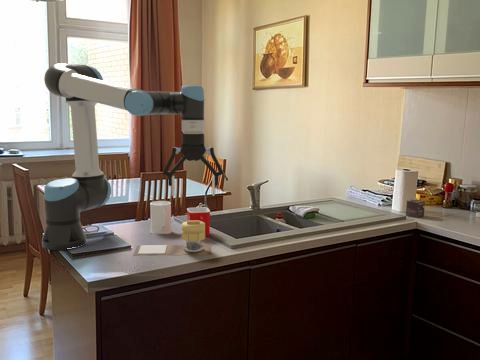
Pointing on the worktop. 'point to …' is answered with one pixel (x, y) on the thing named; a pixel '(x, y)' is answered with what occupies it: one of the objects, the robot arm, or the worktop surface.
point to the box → (415, 208)
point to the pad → (152, 249)
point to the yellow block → (193, 230)
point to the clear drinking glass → (193, 247)
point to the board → (177, 251)
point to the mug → (160, 217)
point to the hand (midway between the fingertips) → (193, 195)
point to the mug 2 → (200, 217)
